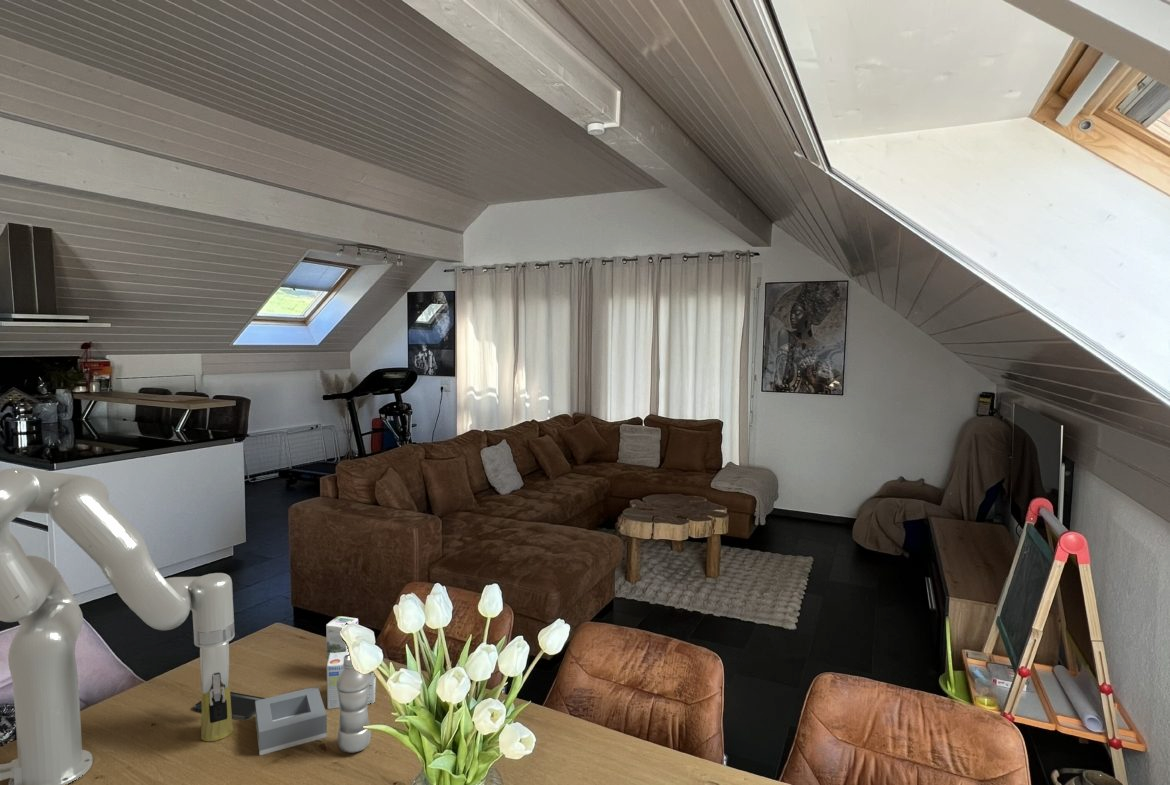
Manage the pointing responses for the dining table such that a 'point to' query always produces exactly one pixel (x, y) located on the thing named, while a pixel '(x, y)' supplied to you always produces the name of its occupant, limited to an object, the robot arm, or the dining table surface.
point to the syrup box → (336, 635)
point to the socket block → (290, 720)
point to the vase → (217, 728)
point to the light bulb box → (332, 675)
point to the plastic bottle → (353, 708)
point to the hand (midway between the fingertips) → (218, 708)
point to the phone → (238, 706)
